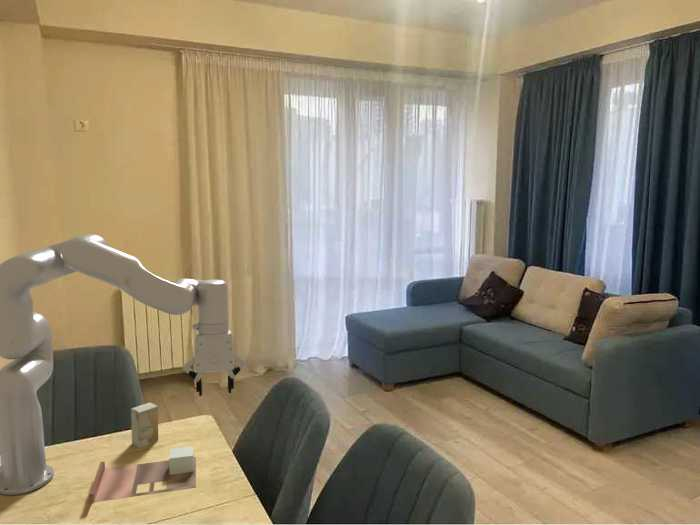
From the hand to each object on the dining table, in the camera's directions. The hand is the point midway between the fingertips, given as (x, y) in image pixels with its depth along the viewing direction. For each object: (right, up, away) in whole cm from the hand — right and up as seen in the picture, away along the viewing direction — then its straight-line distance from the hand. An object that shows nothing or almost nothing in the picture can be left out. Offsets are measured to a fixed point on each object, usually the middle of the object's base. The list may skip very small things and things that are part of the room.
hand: (215, 392), depth 137 cm
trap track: (-16, -22, -4) cm, 28 cm away
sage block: (-9, -20, 0) cm, 22 cm away
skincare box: (-24, -20, +14) cm, 34 cm away
